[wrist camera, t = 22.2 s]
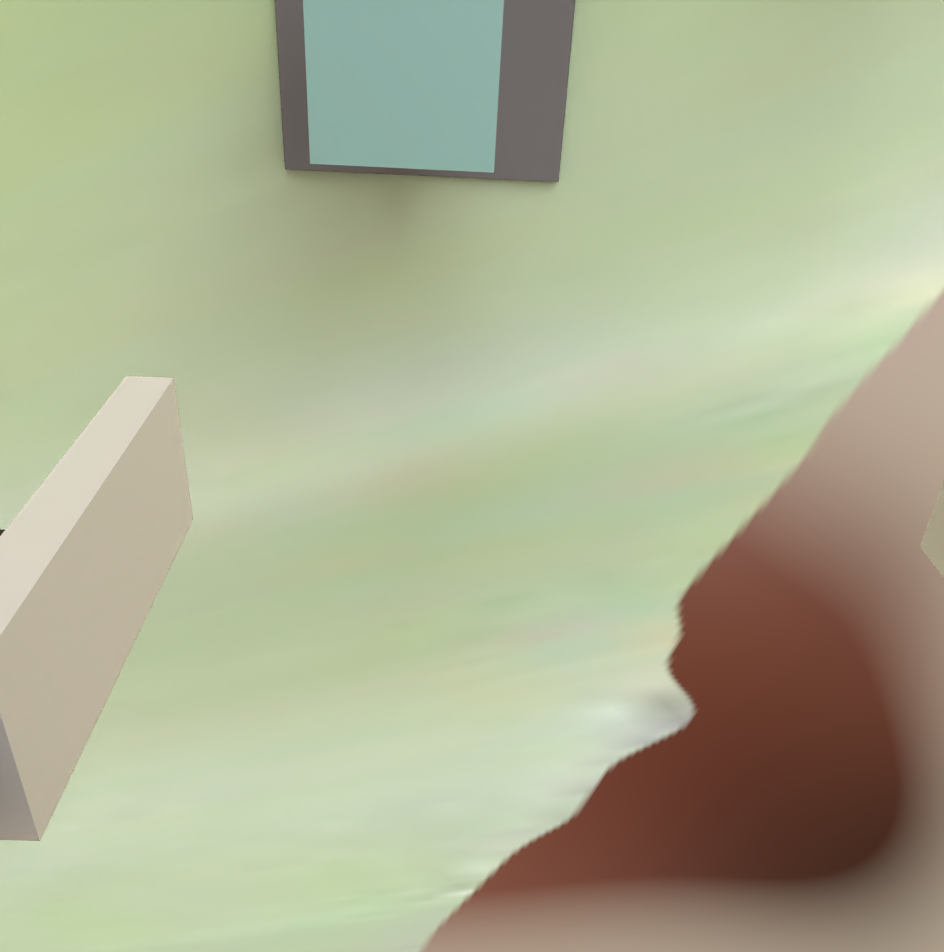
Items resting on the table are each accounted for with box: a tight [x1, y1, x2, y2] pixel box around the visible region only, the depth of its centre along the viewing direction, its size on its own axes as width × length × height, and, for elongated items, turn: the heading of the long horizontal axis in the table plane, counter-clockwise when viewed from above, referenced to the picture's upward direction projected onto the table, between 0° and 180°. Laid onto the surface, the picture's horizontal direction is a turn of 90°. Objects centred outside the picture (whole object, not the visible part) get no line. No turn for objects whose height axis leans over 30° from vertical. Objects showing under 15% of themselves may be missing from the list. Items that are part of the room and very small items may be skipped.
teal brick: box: [303, 0, 504, 173], centre depth 31 cm, size 6×6×6 cm
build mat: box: [275, 0, 575, 182], centre depth 41 cm, size 14×14×4 cm
